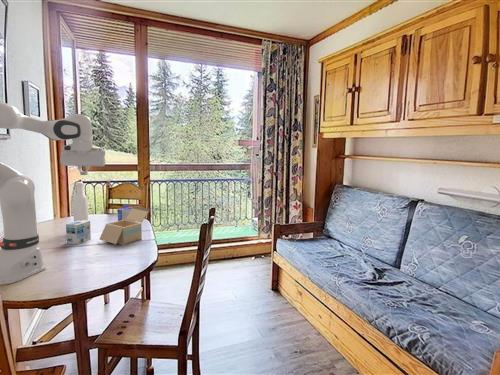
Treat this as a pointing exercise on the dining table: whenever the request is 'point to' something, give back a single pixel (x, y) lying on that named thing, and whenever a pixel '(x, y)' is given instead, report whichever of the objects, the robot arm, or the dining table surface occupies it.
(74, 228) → the light bulb box
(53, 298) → the dining table surface
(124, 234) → the carton
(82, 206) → the bottle
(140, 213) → the flap
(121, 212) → the ink cartridge box
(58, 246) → the dining table surface
